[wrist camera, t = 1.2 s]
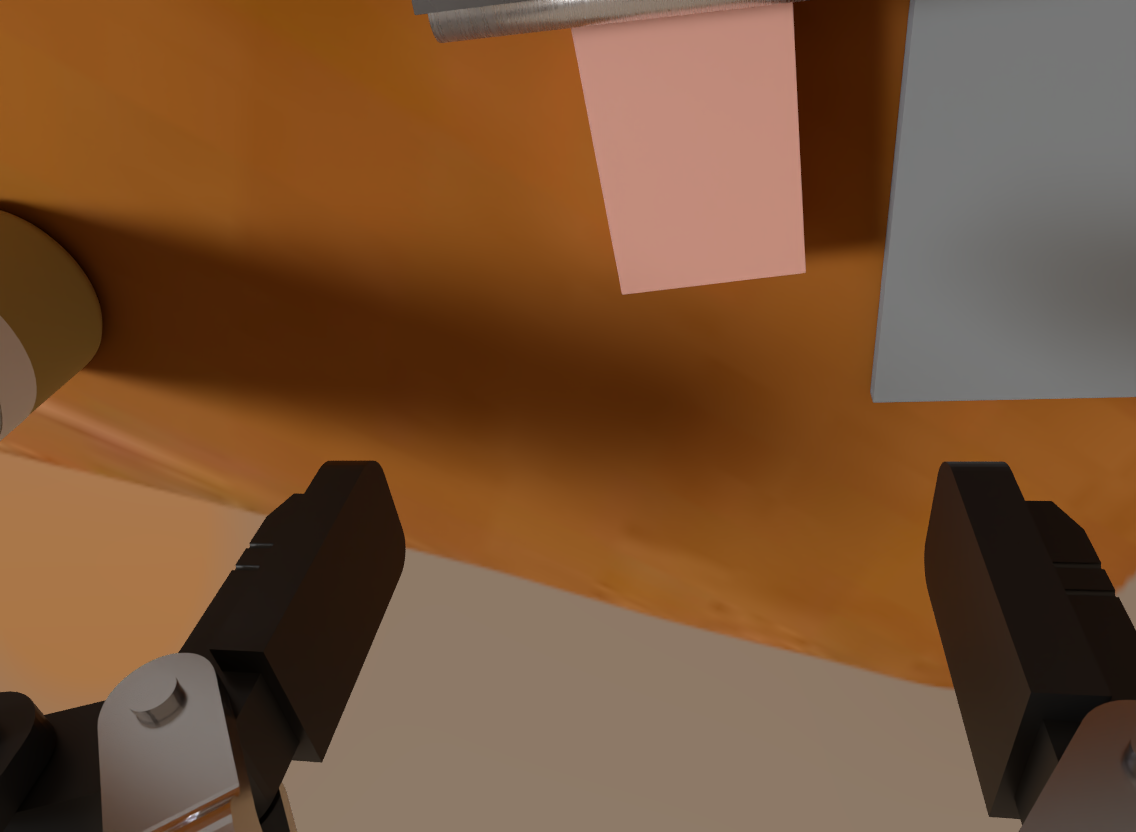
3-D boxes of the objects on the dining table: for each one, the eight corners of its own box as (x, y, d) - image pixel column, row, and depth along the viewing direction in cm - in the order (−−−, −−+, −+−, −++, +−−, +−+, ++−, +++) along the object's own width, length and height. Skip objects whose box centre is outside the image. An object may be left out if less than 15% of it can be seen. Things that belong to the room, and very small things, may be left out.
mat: (926, -168, 18) (932, -167, 17) (1409, -241, 16) (1430, -243, 16) (870, 391, 27) (873, 402, 26) (1180, 384, 25) (1189, 395, 24)
